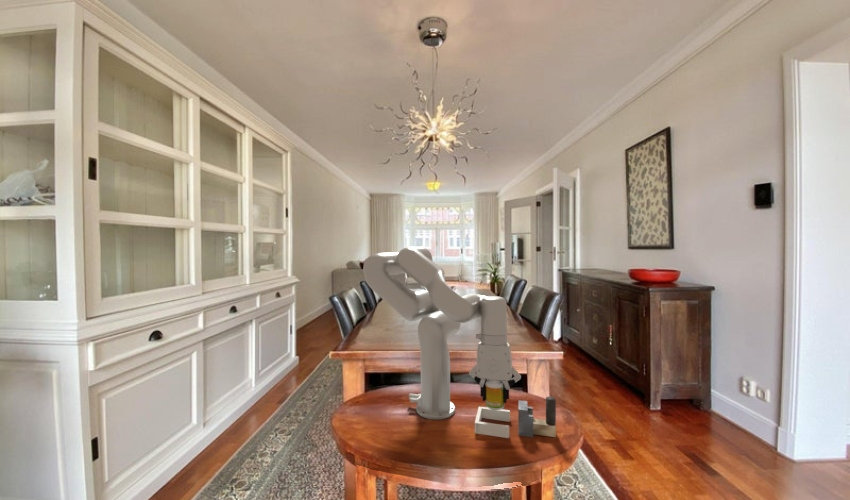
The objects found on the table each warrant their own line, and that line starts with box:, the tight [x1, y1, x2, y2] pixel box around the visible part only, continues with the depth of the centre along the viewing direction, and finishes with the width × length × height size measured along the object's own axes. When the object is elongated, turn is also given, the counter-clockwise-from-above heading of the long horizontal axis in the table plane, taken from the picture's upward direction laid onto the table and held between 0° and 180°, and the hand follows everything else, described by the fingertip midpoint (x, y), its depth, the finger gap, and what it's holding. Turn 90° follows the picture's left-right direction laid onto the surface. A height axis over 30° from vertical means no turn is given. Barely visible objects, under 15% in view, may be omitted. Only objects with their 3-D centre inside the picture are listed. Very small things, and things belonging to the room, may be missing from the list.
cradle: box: [474, 406, 511, 439], centre depth 100 cm, size 10×10×3 cm
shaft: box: [533, 396, 557, 438], centre depth 96 cm, size 8×3×10 cm, turn 74°
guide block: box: [517, 399, 534, 438], centre depth 97 cm, size 4×6×7 cm
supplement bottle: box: [485, 379, 505, 410], centre depth 99 cm, size 5×5×10 cm
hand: (494, 399), depth 99 cm, fingers closed on supplement bottle, 5 cm apart
